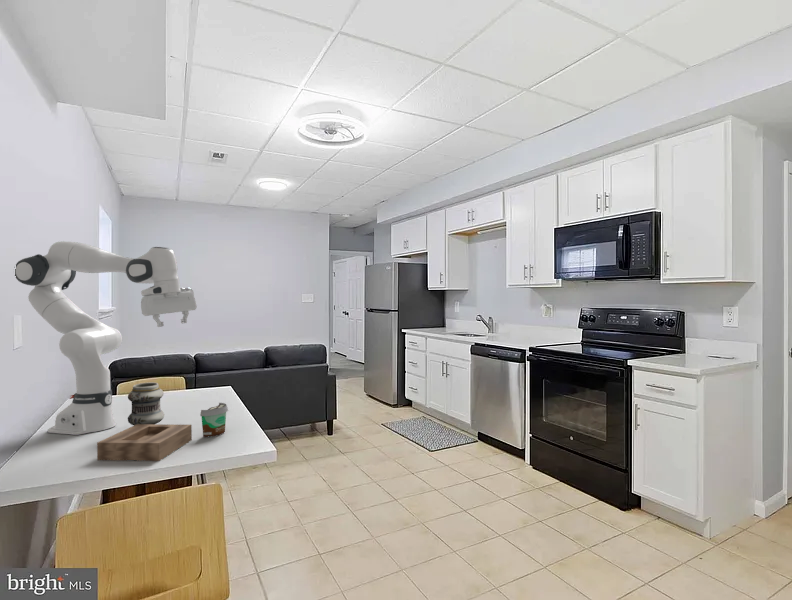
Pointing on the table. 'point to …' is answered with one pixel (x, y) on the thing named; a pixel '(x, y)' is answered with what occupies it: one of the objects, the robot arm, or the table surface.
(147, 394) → the apothecary jar
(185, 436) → the walnut base
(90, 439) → the table surface
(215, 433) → the food container
